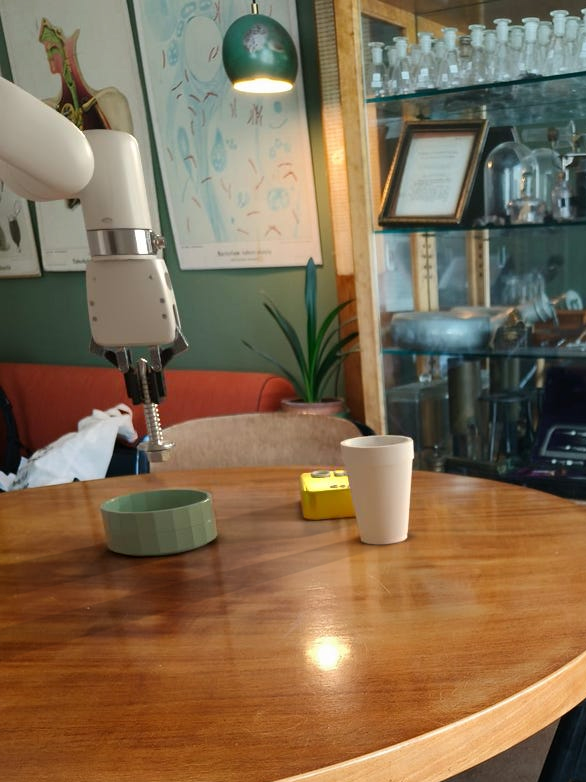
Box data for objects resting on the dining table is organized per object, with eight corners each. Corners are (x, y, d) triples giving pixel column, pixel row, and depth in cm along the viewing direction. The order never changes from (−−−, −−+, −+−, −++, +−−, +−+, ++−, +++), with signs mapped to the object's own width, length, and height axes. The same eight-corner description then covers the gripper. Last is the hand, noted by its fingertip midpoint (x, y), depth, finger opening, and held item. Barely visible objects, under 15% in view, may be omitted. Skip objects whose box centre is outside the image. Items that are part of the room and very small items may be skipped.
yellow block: (303, 521, 130) (299, 489, 128) (301, 499, 143) (297, 470, 141) (404, 513, 132) (402, 481, 130) (393, 492, 146) (391, 463, 144)
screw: (131, 463, 116) (156, 456, 120) (161, 465, 114) (185, 458, 118) (112, 360, 111) (139, 356, 115) (143, 359, 109) (169, 356, 113)
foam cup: (360, 551, 114) (351, 450, 109) (340, 534, 122) (331, 439, 117) (428, 541, 118) (423, 442, 113) (405, 525, 125) (399, 433, 121)
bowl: (95, 561, 114) (86, 515, 111) (124, 533, 127) (116, 491, 124) (207, 554, 115) (200, 509, 113) (225, 527, 128) (219, 486, 126)
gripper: (195, 247, 111) (216, 397, 118) (64, 251, 110) (94, 403, 117) (183, 244, 104) (206, 404, 111) (43, 249, 103) (76, 410, 110)
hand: (148, 402), depth 114 cm, fingers closed on screw, 2 cm apart
